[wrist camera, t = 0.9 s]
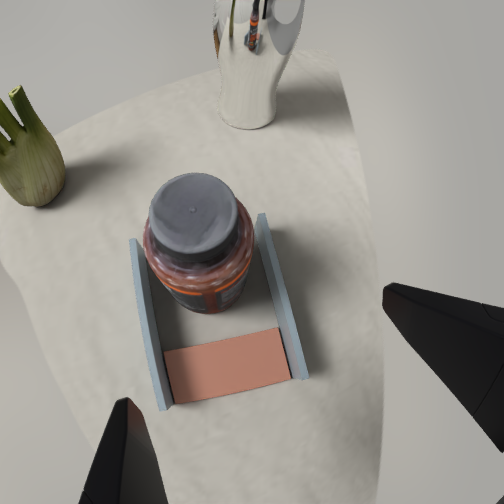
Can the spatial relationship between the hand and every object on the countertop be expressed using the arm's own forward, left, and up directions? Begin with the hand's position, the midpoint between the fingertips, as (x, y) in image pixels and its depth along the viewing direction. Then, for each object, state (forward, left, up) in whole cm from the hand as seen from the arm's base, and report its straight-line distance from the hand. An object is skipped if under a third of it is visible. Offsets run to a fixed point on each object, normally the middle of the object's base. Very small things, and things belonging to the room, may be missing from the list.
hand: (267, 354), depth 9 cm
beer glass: (+23, -6, -14) cm, 28 cm away
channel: (+3, +1, -14) cm, 14 cm away
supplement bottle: (+6, +1, -14) cm, 16 cm away
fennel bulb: (+18, +15, -14) cm, 27 cm away
